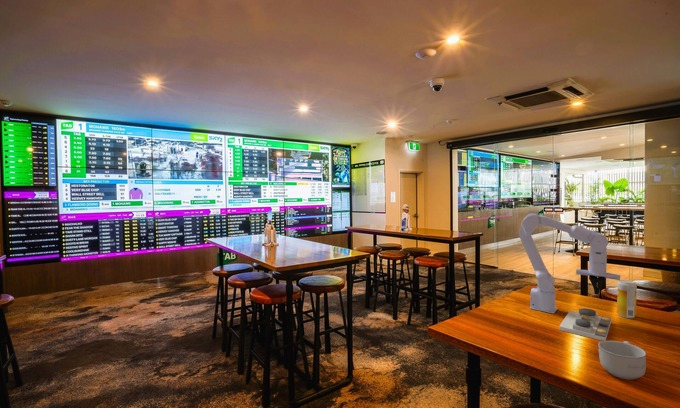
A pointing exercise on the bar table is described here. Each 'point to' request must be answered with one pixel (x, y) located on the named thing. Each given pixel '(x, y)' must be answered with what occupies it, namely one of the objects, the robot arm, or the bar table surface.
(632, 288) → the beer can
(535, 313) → the bar table surface
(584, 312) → the button
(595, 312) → the button
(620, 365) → the light grey bowl
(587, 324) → the button
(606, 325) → the board
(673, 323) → the bar table surface
